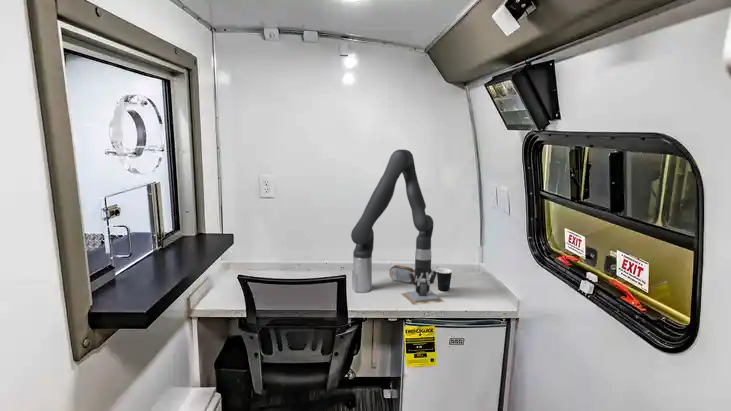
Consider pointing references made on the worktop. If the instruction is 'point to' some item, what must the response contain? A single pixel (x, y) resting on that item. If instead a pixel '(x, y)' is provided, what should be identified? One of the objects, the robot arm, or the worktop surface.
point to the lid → (422, 294)
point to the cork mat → (421, 302)
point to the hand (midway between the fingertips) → (422, 292)
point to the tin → (401, 273)
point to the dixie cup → (444, 279)
